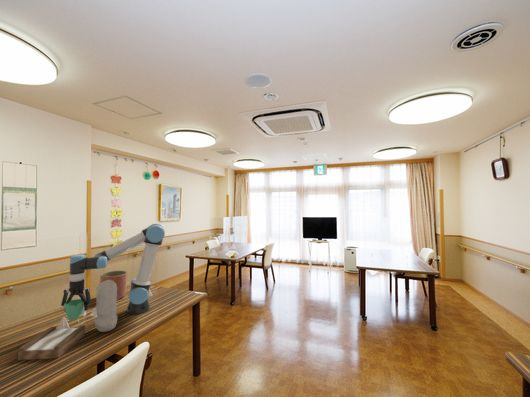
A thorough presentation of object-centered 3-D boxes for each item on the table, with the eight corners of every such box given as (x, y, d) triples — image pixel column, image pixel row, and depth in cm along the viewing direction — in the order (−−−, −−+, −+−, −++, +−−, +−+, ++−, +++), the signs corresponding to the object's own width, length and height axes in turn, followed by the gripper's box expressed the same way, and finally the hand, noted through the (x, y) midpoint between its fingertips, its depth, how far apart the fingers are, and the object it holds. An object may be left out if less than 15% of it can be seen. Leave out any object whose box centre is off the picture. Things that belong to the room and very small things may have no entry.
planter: (106, 293, 208) (108, 270, 209) (129, 293, 210) (131, 270, 211) (93, 302, 190) (95, 276, 190) (119, 302, 192) (120, 276, 192)
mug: (72, 323, 144) (73, 306, 144) (59, 321, 146) (59, 304, 146) (94, 312, 158) (94, 297, 159) (82, 310, 160) (82, 295, 161)
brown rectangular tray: (84, 334, 142) (85, 325, 143) (58, 357, 121) (59, 346, 121) (50, 336, 140) (51, 326, 140) (17, 360, 118) (18, 348, 118)
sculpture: (123, 326, 154) (126, 278, 155) (109, 335, 142) (112, 284, 144) (101, 324, 156) (104, 277, 157) (86, 333, 144) (89, 282, 145)
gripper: (98, 277, 158) (97, 312, 157) (62, 278, 155) (61, 314, 154) (92, 280, 151) (91, 317, 150) (53, 282, 147) (52, 320, 147)
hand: (76, 316), depth 152 cm, fingers closed on mug, 9 cm apart
